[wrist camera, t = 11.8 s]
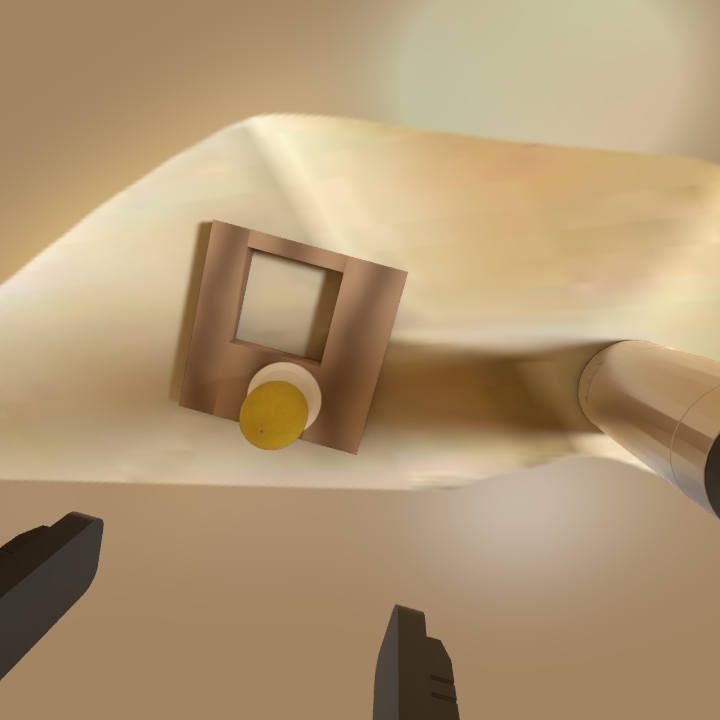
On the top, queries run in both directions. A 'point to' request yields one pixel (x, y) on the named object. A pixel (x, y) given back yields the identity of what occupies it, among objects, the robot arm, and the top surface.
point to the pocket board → (244, 360)
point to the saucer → (296, 377)
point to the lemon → (273, 415)
